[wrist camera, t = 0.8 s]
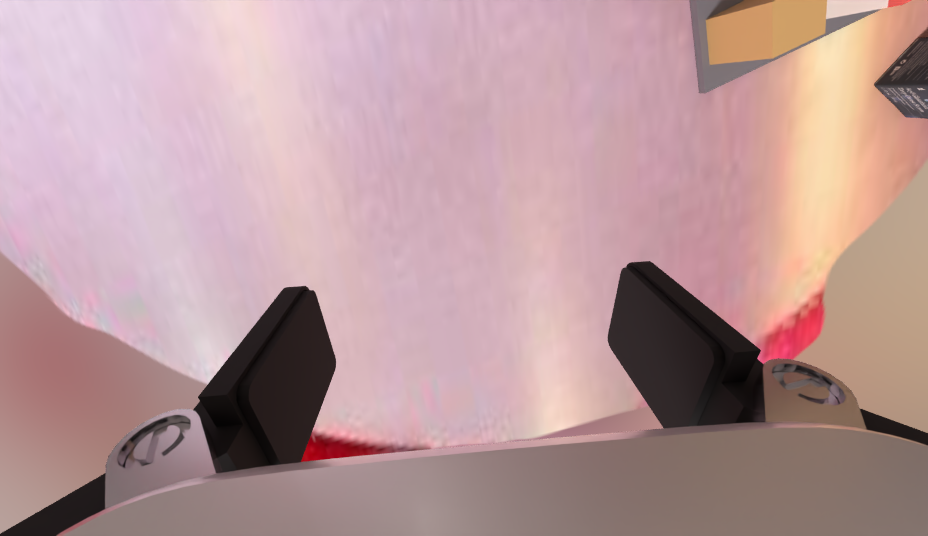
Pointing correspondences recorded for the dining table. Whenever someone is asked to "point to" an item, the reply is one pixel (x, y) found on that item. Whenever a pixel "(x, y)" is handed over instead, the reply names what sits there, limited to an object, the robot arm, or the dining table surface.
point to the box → (908, 81)
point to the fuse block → (754, 34)
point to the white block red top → (858, 6)
